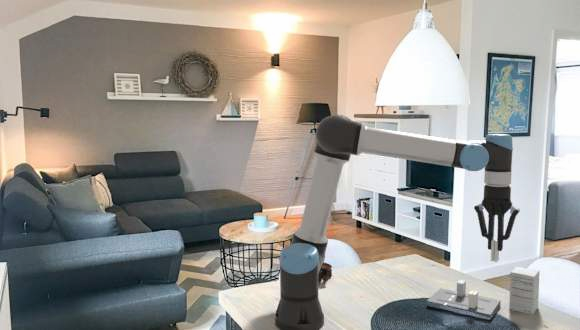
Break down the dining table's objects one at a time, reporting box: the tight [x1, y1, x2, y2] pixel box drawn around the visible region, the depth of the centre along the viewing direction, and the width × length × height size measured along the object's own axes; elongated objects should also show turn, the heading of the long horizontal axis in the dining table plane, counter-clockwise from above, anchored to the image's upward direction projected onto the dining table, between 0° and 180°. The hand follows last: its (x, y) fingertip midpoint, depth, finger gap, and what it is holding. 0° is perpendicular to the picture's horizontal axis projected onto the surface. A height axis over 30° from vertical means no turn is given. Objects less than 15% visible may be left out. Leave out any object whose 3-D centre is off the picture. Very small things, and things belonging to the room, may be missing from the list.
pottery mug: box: [318, 261, 333, 284], centre depth 186 cm, size 12×10×8 cm
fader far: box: [456, 279, 467, 297], centre depth 164 cm, size 4×2×5 cm, turn 145°
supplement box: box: [508, 266, 540, 315], centre depth 157 cm, size 7×7×13 cm
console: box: [426, 287, 502, 318], centre depth 160 cm, size 15×20×2 cm
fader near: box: [468, 290, 479, 309], centre depth 154 cm, size 4×2×5 cm, turn 145°
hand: (494, 260), depth 149 cm, fingers closed
